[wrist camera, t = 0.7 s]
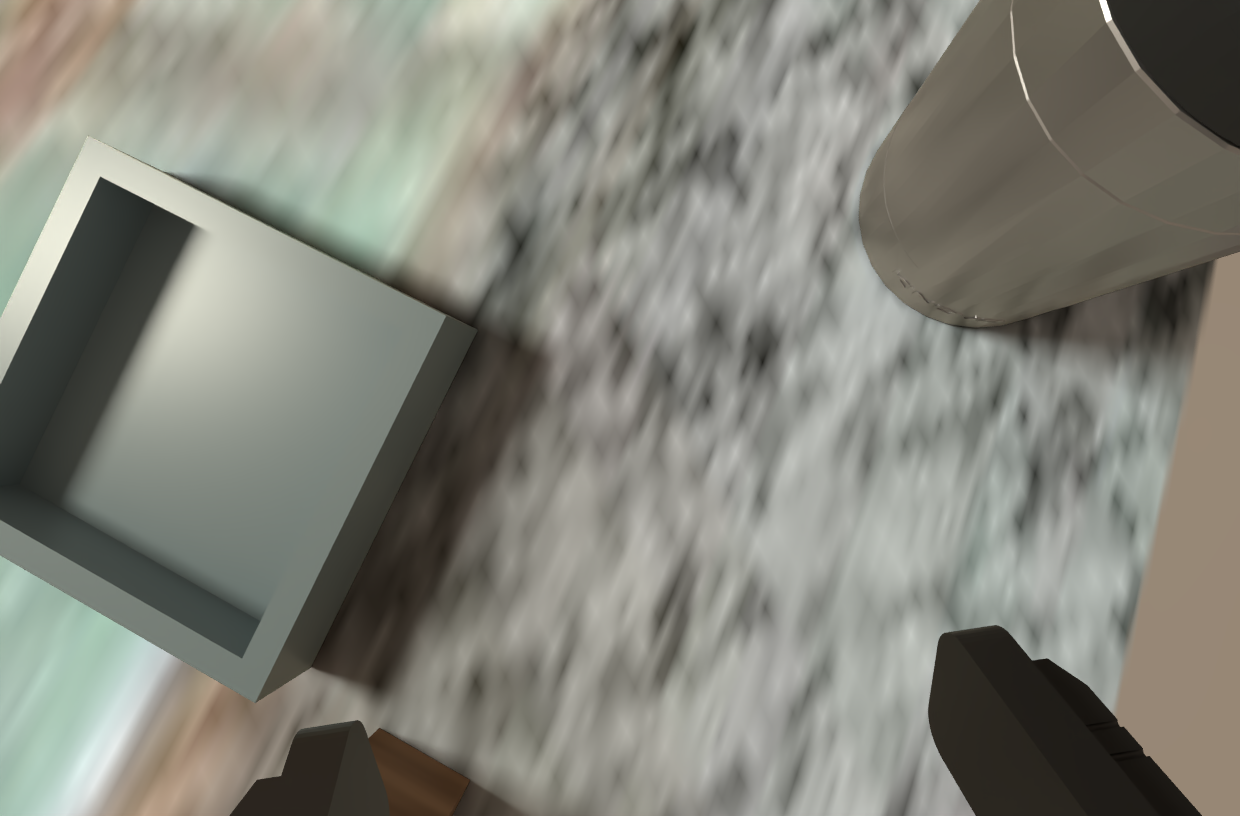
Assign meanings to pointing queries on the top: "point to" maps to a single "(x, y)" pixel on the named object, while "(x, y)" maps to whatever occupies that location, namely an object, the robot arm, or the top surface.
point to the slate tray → (205, 418)
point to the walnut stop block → (415, 779)
